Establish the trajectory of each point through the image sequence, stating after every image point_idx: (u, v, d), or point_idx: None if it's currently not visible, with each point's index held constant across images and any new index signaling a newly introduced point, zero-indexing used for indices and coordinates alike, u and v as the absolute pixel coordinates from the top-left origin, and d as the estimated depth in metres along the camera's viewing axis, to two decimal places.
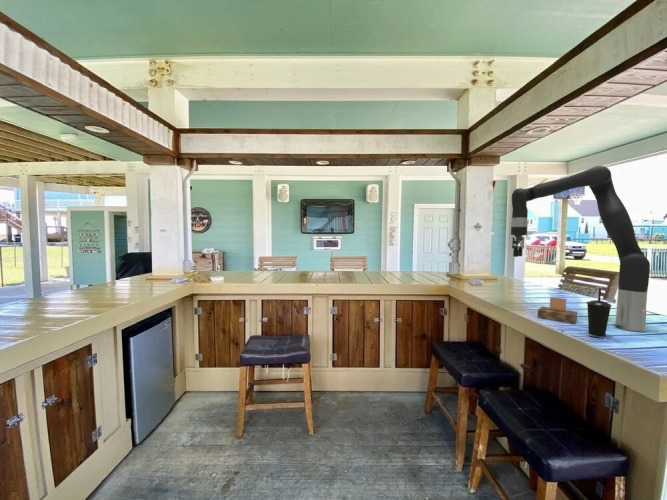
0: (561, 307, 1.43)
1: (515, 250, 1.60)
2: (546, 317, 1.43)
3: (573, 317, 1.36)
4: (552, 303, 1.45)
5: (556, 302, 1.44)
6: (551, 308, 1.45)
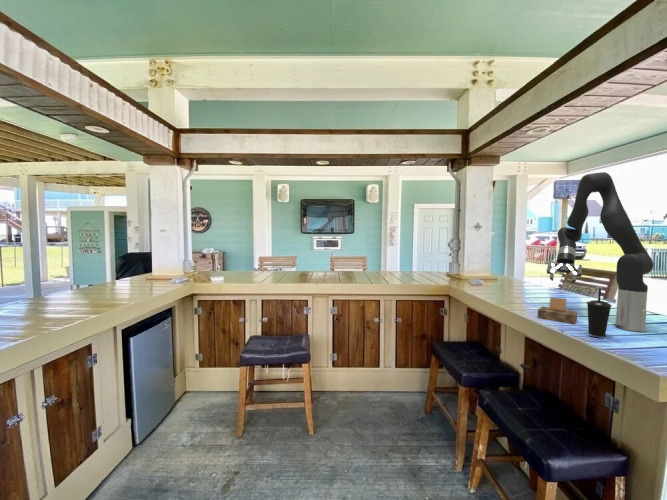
0: (561, 307, 1.43)
1: None
2: (546, 317, 1.43)
3: (573, 317, 1.36)
4: (552, 303, 1.45)
5: (556, 302, 1.44)
6: (551, 308, 1.45)
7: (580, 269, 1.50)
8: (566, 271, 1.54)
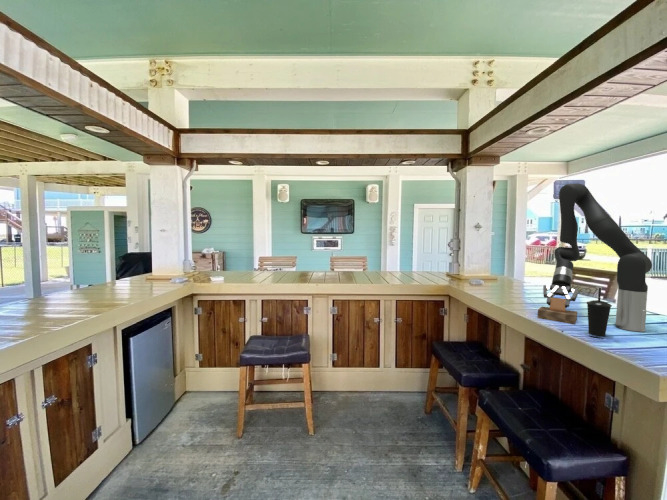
0: (561, 307, 1.42)
1: None
2: (546, 317, 1.43)
3: (573, 317, 1.36)
4: (552, 303, 1.45)
5: (556, 302, 1.44)
6: (551, 308, 1.45)
7: (575, 293, 1.41)
8: (560, 294, 1.46)
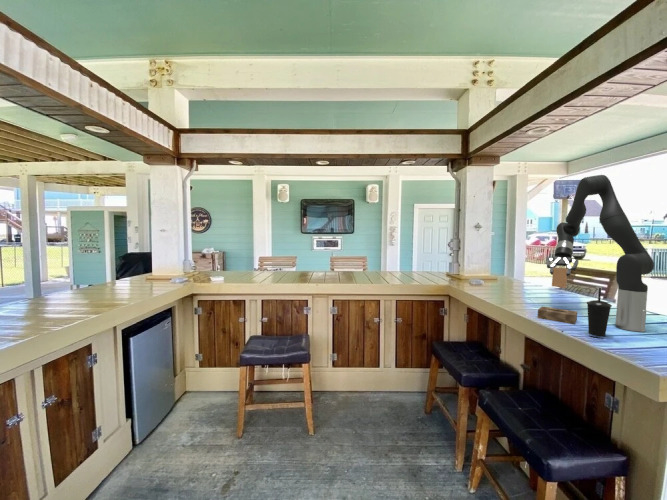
0: (563, 276, 1.58)
1: None
2: (546, 317, 1.43)
3: (573, 317, 1.36)
4: (555, 272, 1.60)
5: (558, 271, 1.59)
6: (554, 277, 1.60)
7: (575, 263, 1.56)
8: (562, 264, 1.61)
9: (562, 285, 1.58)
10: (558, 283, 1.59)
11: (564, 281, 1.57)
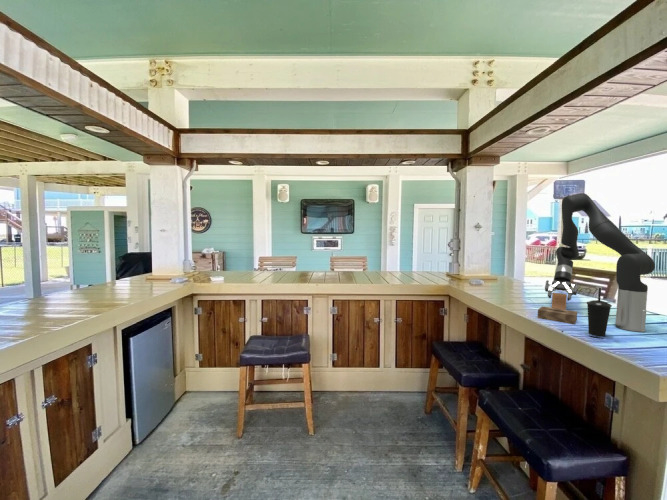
0: (562, 301, 1.60)
1: None
2: (546, 317, 1.43)
3: (573, 317, 1.36)
4: (554, 298, 1.62)
5: (558, 296, 1.61)
6: (553, 302, 1.63)
7: (575, 288, 1.59)
8: (562, 289, 1.63)
9: None
10: (557, 308, 1.61)
11: (563, 307, 1.60)
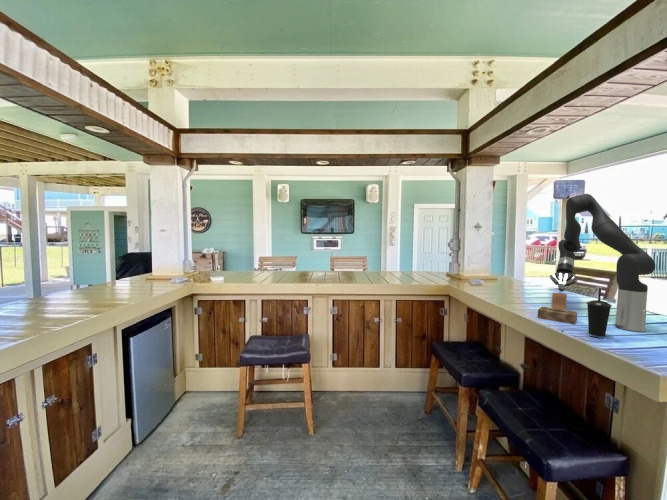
0: (562, 301, 1.60)
1: (559, 285, 1.68)
2: (546, 317, 1.43)
3: (573, 317, 1.36)
4: (554, 298, 1.62)
5: (558, 296, 1.61)
6: (553, 302, 1.63)
7: (572, 280, 1.65)
8: None
9: None
10: (557, 308, 1.61)
11: (563, 307, 1.60)
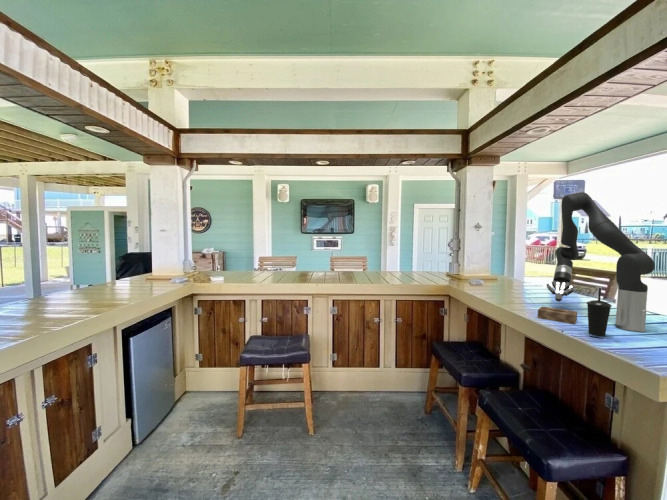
0: None
1: (556, 295, 1.61)
2: (546, 317, 1.43)
3: (573, 317, 1.36)
4: None
5: None
6: None
7: (569, 290, 1.58)
8: None
9: None
10: None
11: None
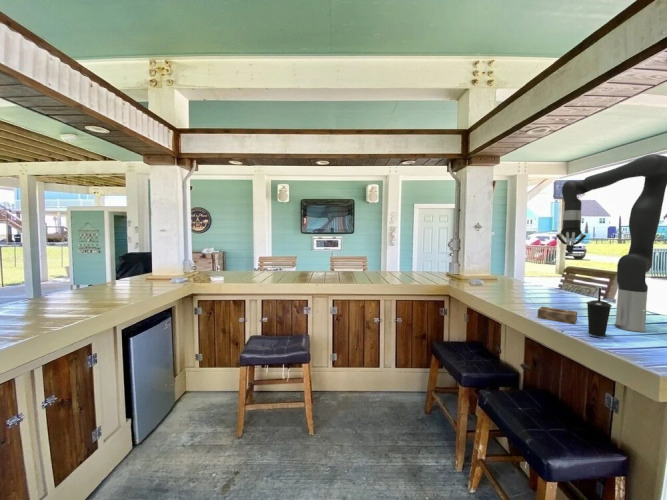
0: None
1: (567, 246, 1.60)
2: (546, 317, 1.43)
3: (573, 317, 1.36)
4: None
5: None
6: None
7: (580, 240, 1.55)
8: None
9: None
10: None
11: None
